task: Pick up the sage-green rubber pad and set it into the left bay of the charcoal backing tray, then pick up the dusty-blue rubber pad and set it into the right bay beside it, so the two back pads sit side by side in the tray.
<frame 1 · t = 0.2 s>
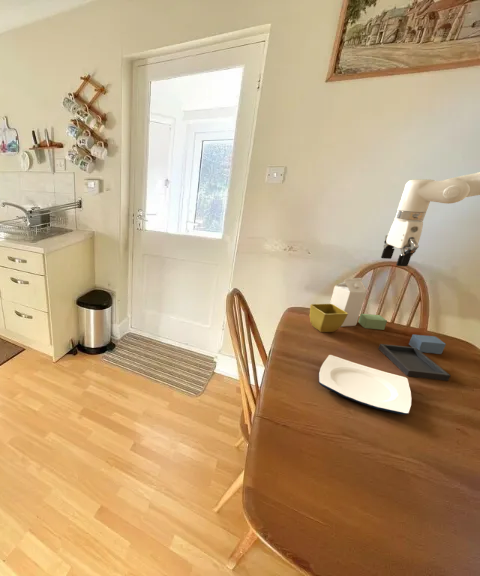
hand: (393, 262, 117), 25 cm above the table, tool pointing down, fingers open, 9 cm apart
sage pad: (370, 326, 124), on the table
blue pad: (424, 349, 108), on the table
plate: (360, 388, 90), on the table
milk carton: (340, 322, 127), on the table
flower pot: (322, 329, 122), on the table
backing tray: (410, 363, 100), on the table
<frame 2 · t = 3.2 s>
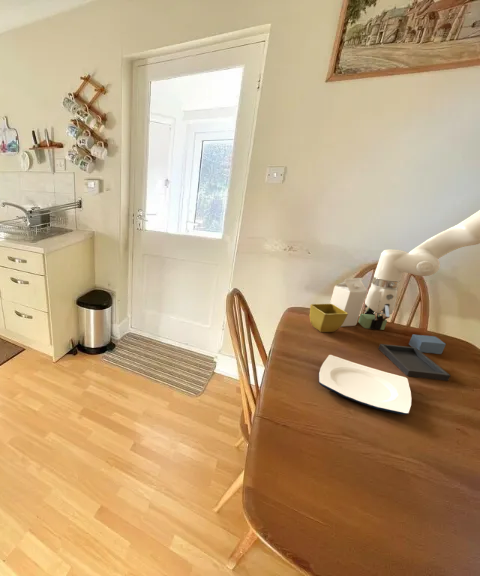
hand: (370, 325, 123), 0 cm above the table, tool pointing down, fingers closed on sage pad, 5 cm apart
sage pad: (370, 326, 124), on the table, touching gripper
everything else where it was.
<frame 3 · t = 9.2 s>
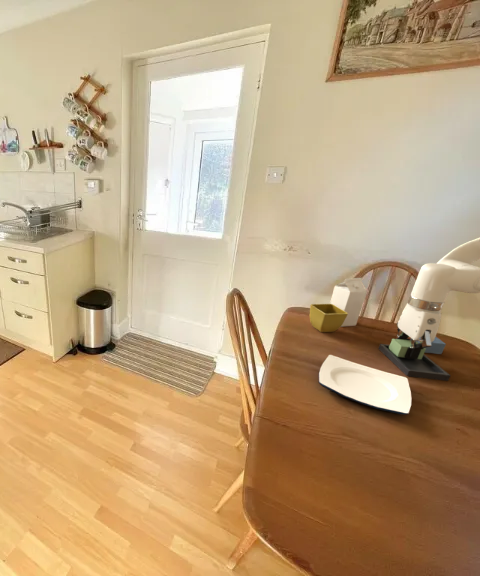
hand: (405, 352, 103), 2 cm above the table, tool pointing down, fingers closed on sage pad, 5 cm apart
sage pad: (404, 353, 103), point 1 cm above the table, touching gripper
everything else where it was.
when the fingers open (3 cm above the table, at t = 15.8 s): sage pad drops 2 cm, resting on backing tray.
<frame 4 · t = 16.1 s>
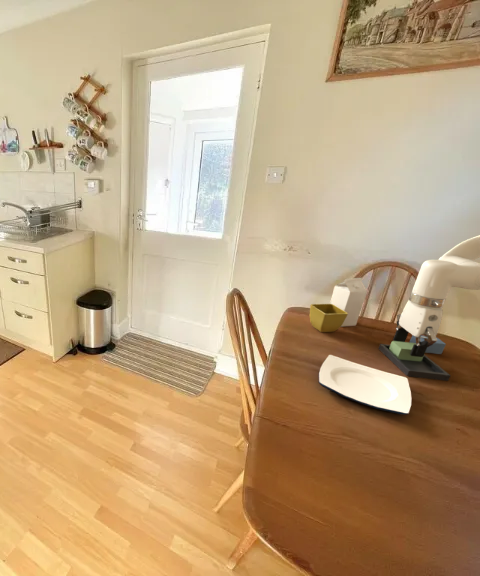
hand: (407, 348, 102), 4 cm above the table, tool pointing down, fingers open, 8 cm apart
sage pad: (404, 356, 103), resting on backing tray
everything else where it was.
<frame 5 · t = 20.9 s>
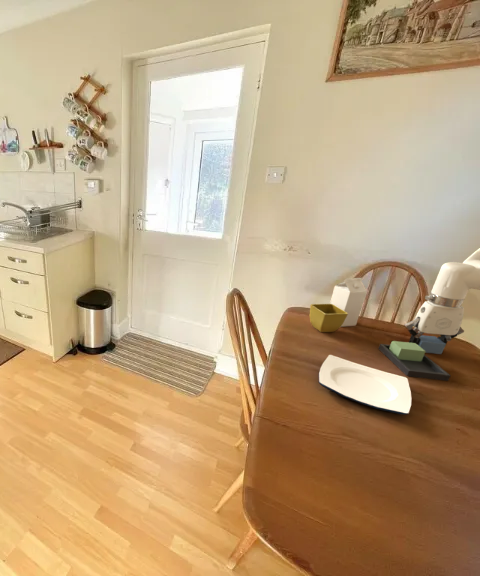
hand: (425, 347, 108), 1 cm above the table, tool pointing down, fingers closed on blue pad, 6 cm apart
blue pad: (424, 349, 108), on the table, touching gripper
everything else where it was.
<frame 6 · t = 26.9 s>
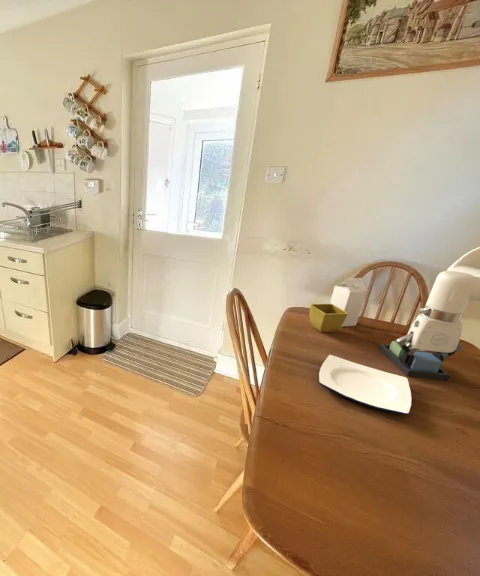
hand: (419, 365, 97), 2 cm above the table, tool pointing down, fingers closed on blue pad, 6 cm apart
blue pad: (418, 366, 97), point 1 cm above the table, touching gripper
everything else where it was.
when the fingers open (3 cm above the table, at t = 36.6 s): blue pad drops 2 cm, resting on backing tray.
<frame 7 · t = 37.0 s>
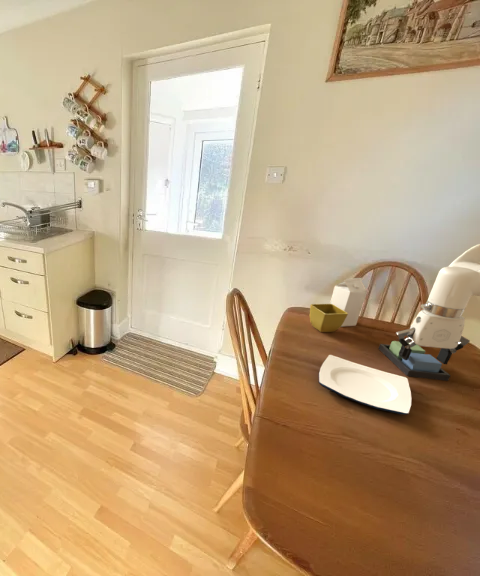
hand: (422, 359, 96), 4 cm above the table, tool pointing down, fingers open, 9 cm apart
blue pad: (418, 368, 97), resting on backing tray
everything else where it was.
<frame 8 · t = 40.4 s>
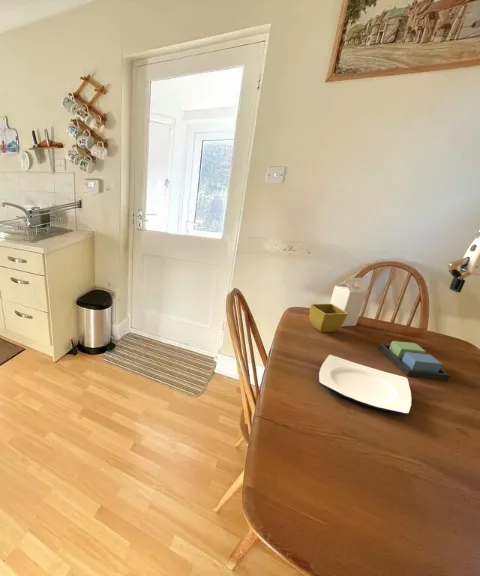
hand: (474, 292, 92), 24 cm above the table, tool pointing down, fingers open, 9 cm apart
nothing on the table moved.
at the end: sage pad 0.3 cm from the target spot in the backing tray, point 0.5 cm above the backing tray's base; blue pad 0.3 cm from the target spot in the backing tray, point 0.5 cm above the backing tray's base; blue pad tilted 0° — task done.
